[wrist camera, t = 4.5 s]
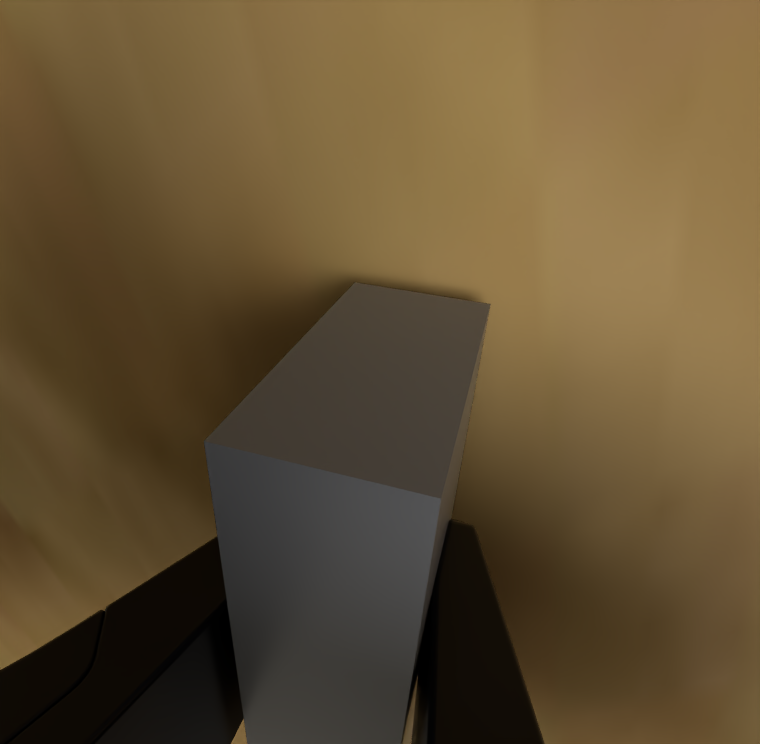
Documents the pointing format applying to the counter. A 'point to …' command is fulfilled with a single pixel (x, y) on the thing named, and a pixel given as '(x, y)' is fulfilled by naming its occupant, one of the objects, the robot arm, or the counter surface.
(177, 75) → the counter surface
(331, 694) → the grey t-shaped bar
